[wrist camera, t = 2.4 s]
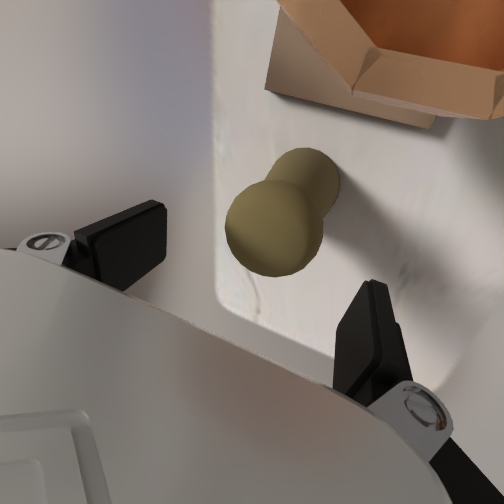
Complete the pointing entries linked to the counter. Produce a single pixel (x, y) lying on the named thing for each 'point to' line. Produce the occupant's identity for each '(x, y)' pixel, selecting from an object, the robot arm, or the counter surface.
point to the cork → (283, 214)
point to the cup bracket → (393, 57)
